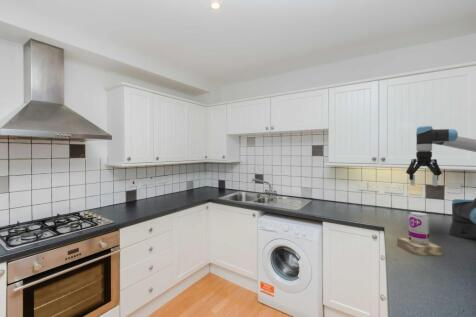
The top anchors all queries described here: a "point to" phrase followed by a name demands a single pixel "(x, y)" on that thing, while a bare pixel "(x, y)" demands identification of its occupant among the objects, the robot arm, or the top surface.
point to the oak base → (419, 247)
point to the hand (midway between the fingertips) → (423, 185)
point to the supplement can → (419, 228)
